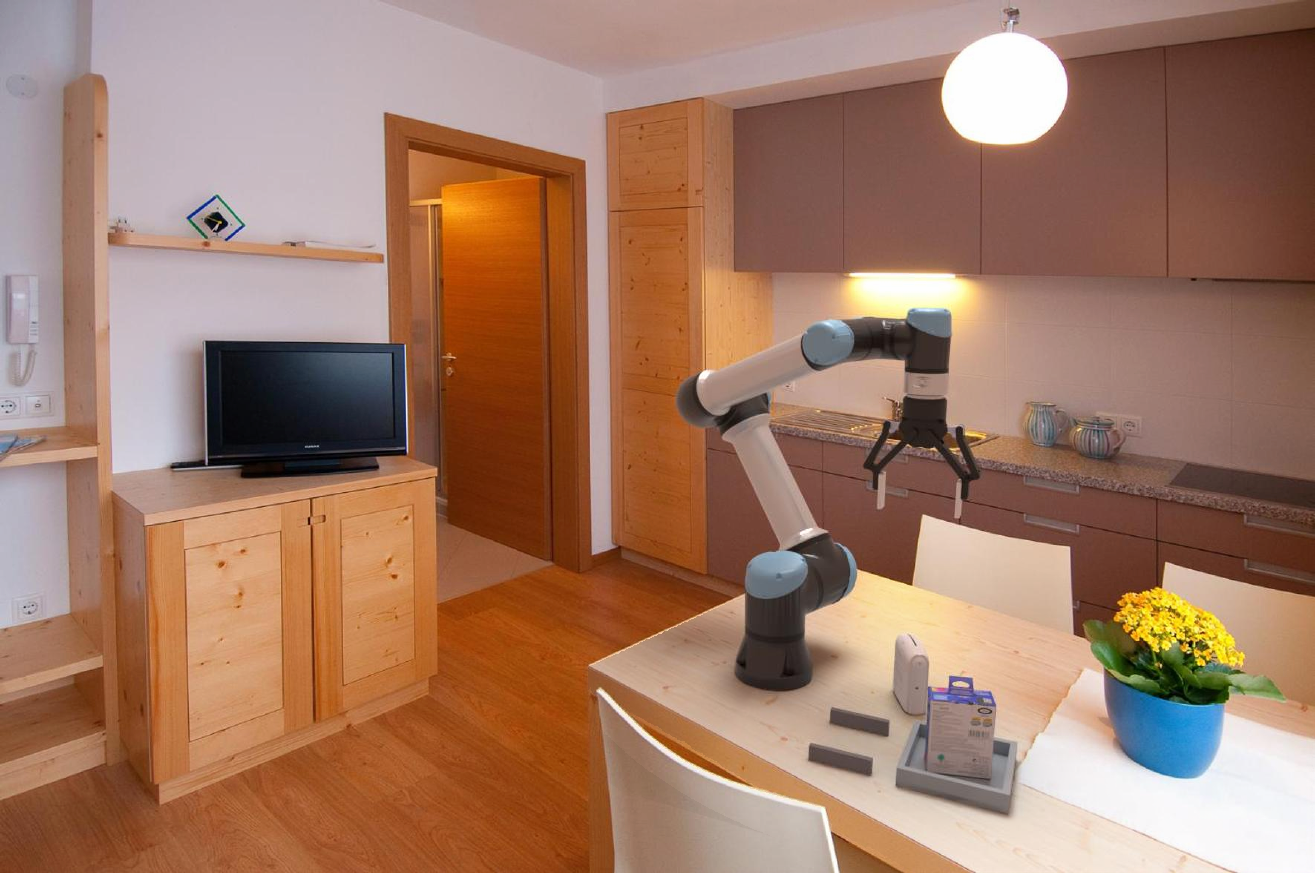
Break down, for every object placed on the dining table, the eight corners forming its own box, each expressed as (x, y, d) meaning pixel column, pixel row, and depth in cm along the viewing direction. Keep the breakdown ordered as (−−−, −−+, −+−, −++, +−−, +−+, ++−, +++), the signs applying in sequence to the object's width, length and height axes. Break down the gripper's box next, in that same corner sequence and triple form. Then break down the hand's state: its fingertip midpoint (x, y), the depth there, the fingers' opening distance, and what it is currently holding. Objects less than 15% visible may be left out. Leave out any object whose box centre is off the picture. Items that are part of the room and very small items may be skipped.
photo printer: (929, 715, 151) (933, 650, 149) (904, 715, 151) (908, 650, 149) (912, 688, 161) (916, 626, 159) (890, 688, 161) (893, 626, 159)
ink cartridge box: (987, 760, 135) (993, 676, 132) (993, 780, 130) (1000, 692, 127) (922, 754, 137) (927, 670, 134) (925, 773, 132) (931, 686, 129)
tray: (895, 785, 130) (896, 767, 129) (914, 735, 144) (915, 719, 143) (1008, 813, 123) (1009, 795, 122) (1016, 758, 137) (1017, 741, 136)
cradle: (808, 759, 137) (808, 745, 136) (831, 720, 149) (831, 706, 149) (870, 775, 132) (871, 760, 132) (889, 733, 145) (889, 719, 144)
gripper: (849, 394, 153) (845, 508, 156) (998, 403, 141) (989, 525, 145) (860, 389, 159) (855, 499, 163) (1002, 397, 148) (993, 515, 152)
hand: (918, 512), depth 154 cm, fingers open, 13 cm apart
